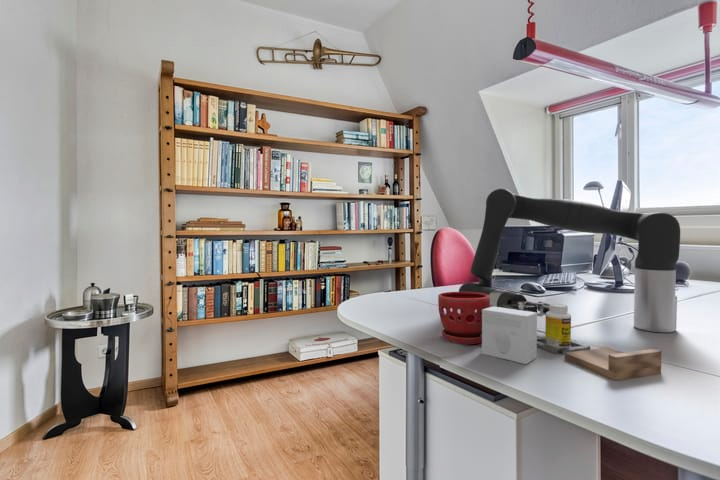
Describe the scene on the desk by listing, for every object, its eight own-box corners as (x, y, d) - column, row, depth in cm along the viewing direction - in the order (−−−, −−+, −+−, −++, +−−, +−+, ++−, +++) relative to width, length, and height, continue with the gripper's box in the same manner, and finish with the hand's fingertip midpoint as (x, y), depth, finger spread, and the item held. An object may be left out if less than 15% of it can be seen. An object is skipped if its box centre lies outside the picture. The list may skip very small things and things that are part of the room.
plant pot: (498, 338, 99) (498, 293, 98) (475, 350, 89) (475, 300, 89) (453, 329, 108) (453, 288, 107) (428, 339, 98) (428, 294, 98)
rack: (606, 353, 87) (606, 334, 86) (660, 373, 75) (661, 351, 75) (564, 359, 83) (564, 339, 83) (615, 380, 72) (615, 357, 71)
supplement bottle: (563, 351, 89) (563, 308, 88) (540, 345, 93) (541, 304, 93) (575, 346, 92) (575, 305, 91) (553, 341, 96) (553, 301, 96)
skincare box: (537, 357, 85) (538, 311, 84) (526, 365, 80) (527, 316, 80) (493, 347, 92) (493, 304, 92) (480, 353, 87) (480, 309, 87)
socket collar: (558, 337, 99) (558, 334, 99) (593, 350, 89) (593, 347, 89) (525, 341, 96) (525, 338, 96) (557, 355, 86) (557, 351, 86)
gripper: (486, 292, 109) (525, 303, 93) (526, 289, 113) (571, 299, 97) (486, 317, 109) (525, 332, 93) (526, 314, 113) (571, 328, 97)
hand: (548, 315), depth 95 cm, fingers open, 8 cm apart
